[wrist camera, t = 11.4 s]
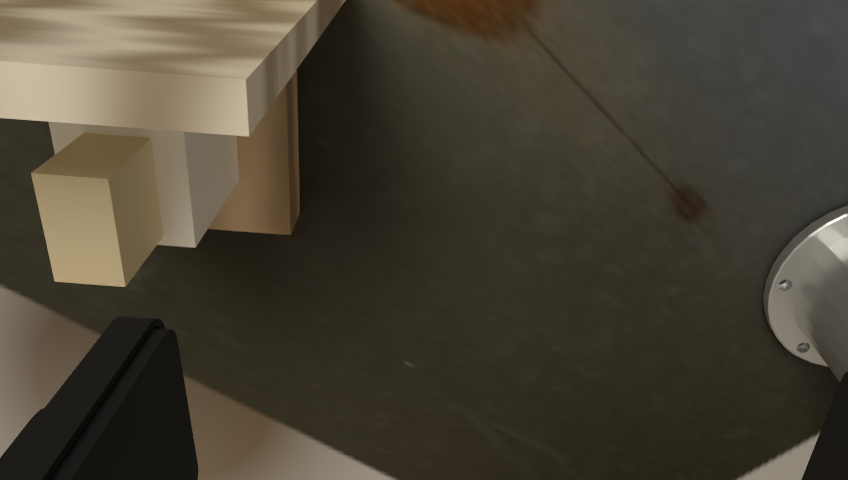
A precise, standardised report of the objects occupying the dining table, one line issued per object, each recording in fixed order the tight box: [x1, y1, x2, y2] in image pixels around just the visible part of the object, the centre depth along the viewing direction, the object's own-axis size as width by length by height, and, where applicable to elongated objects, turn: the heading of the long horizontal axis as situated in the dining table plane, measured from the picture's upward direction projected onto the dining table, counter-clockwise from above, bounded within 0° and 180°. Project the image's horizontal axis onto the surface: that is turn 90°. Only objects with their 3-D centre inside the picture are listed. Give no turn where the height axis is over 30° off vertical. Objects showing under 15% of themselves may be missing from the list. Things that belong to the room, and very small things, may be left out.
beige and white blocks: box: [31, 122, 239, 287], centre depth 33 cm, size 6×10×12 cm, turn 176°
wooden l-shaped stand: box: [0, 0, 346, 235], centre depth 32 cm, size 18×15×22 cm
